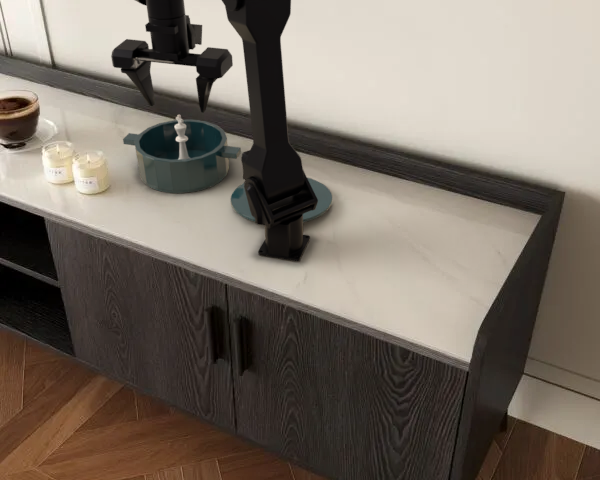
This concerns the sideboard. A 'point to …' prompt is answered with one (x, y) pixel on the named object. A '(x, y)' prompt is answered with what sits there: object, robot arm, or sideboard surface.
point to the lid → (324, 203)
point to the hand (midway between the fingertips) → (177, 108)
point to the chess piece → (181, 138)
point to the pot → (182, 172)
